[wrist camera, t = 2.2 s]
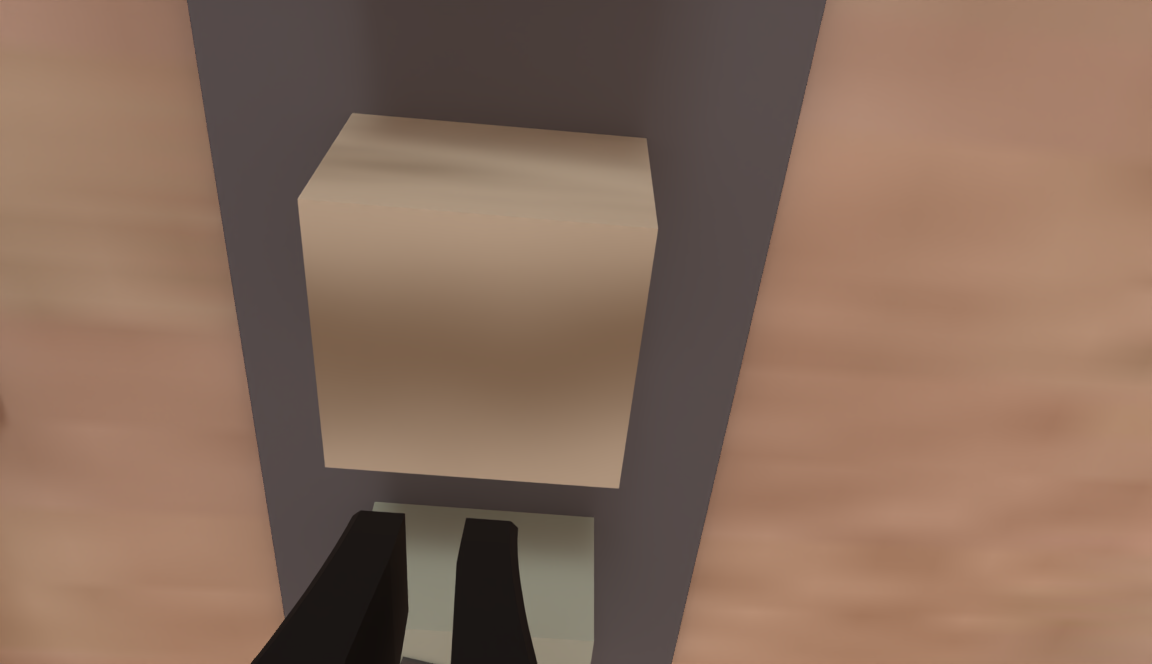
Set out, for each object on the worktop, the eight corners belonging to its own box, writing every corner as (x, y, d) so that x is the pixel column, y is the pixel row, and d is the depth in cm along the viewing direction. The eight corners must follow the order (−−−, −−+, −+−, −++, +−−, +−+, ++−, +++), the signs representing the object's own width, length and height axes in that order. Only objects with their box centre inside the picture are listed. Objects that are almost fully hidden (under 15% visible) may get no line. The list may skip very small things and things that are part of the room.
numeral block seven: (576, 652, 28) (573, 781, 24) (383, 640, 27) (353, 767, 24) (593, 517, 24) (593, 644, 21) (374, 501, 24) (339, 626, 21)
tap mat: (667, 665, 29) (668, 678, 28) (295, 640, 28) (290, 654, 28) (979, -702, 12) (993, -717, 11) (75, -808, 12) (55, -829, 11)
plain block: (615, 372, 21) (618, 488, 18) (367, 353, 21) (325, 466, 18) (646, 138, 18) (657, 228, 15) (352, 113, 18) (296, 198, 15)
